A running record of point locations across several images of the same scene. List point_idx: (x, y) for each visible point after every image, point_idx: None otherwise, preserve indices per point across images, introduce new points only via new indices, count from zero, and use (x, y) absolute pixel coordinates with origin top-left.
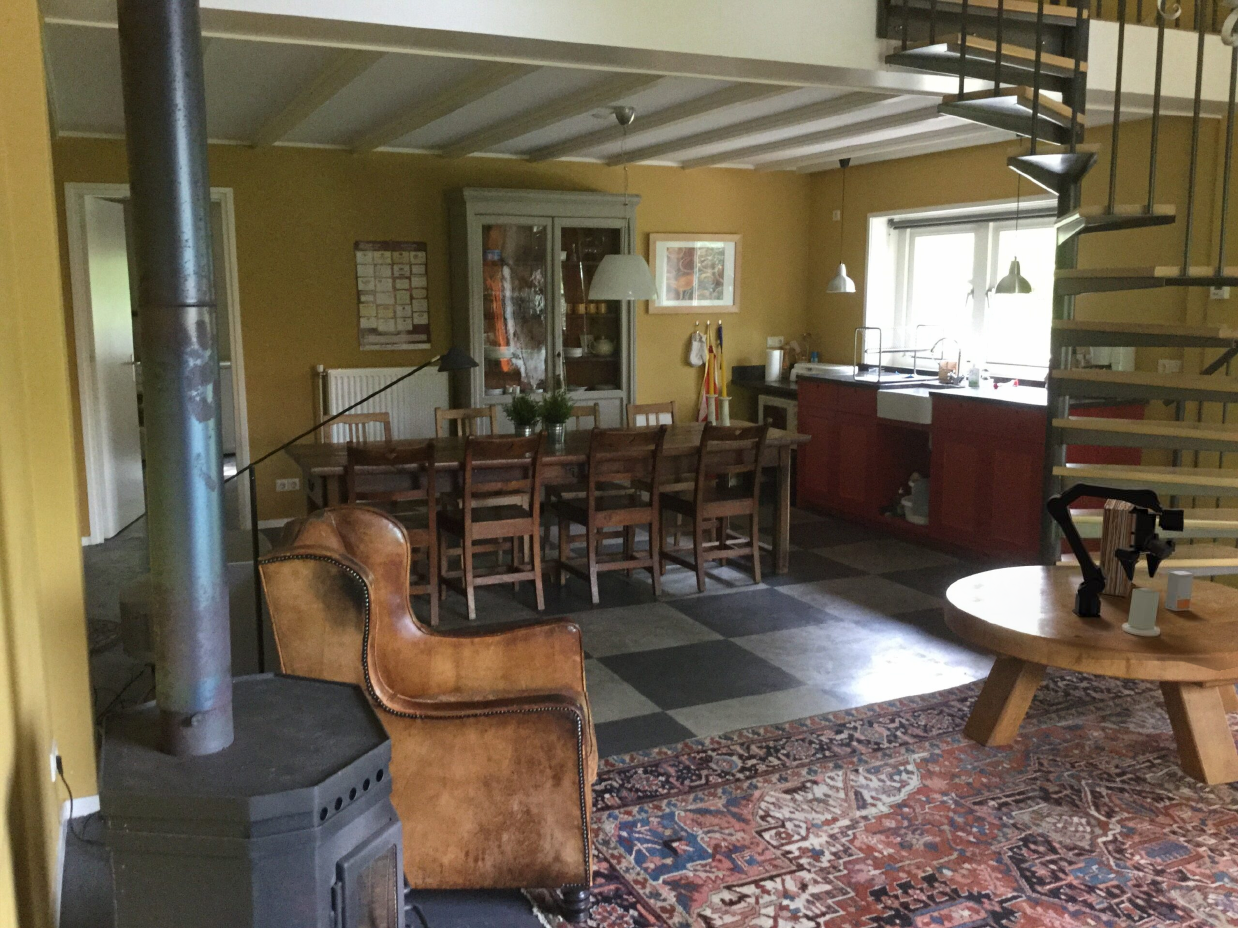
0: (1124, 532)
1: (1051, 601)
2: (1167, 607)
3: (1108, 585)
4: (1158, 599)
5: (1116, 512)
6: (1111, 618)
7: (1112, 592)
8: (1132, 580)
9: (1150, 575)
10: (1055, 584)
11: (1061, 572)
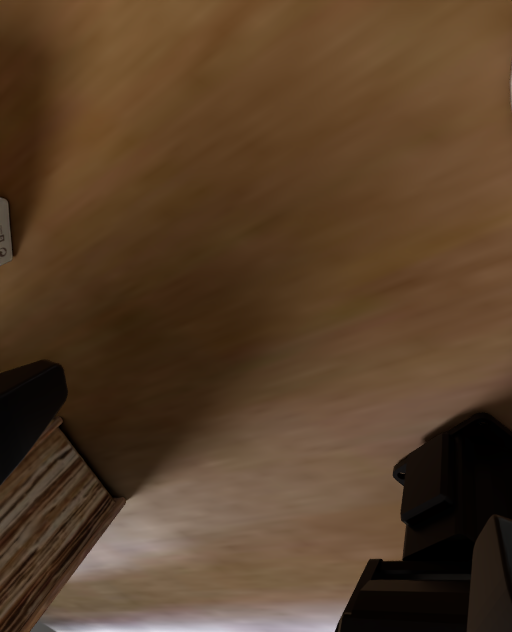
0: None
1: None
2: (8, 247)
3: (71, 506)
4: None
5: None
6: (453, 359)
7: (81, 470)
8: (506, 519)
9: (48, 404)
10: (156, 604)
11: None
